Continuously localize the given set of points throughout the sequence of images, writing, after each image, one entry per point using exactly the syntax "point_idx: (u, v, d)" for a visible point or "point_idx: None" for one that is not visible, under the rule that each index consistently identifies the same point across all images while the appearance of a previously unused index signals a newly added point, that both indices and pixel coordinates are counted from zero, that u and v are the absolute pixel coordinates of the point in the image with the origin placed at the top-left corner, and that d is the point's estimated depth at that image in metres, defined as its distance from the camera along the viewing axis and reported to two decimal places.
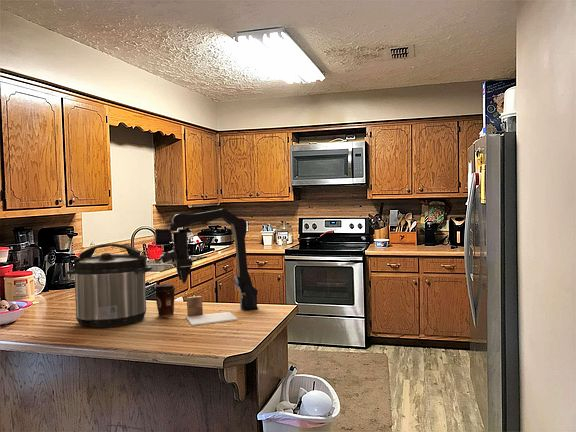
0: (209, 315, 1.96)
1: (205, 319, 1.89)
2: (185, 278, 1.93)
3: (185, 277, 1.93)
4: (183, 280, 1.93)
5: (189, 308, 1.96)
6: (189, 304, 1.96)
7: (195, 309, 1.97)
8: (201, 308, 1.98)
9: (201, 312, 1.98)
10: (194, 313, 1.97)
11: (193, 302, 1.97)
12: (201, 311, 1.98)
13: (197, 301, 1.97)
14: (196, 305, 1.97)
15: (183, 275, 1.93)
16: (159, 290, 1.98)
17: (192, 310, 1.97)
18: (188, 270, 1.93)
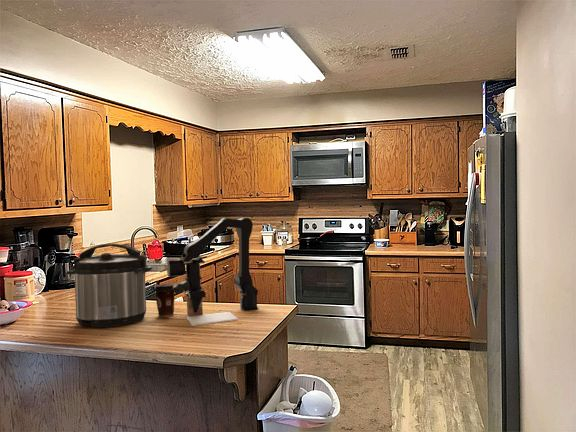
0: (209, 315, 1.96)
1: (205, 319, 1.89)
2: (196, 308, 1.97)
3: (196, 307, 1.97)
4: (195, 310, 1.96)
5: (189, 308, 1.96)
6: (189, 304, 1.96)
7: None
8: (201, 308, 1.98)
9: (201, 312, 1.98)
10: (194, 313, 1.97)
11: None
12: (201, 311, 1.98)
13: None
14: None
15: (195, 305, 1.96)
16: (159, 290, 1.98)
17: (192, 310, 1.97)
18: (199, 300, 1.96)
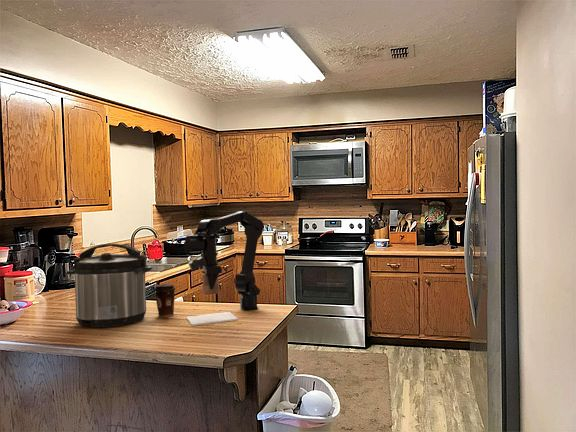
0: (209, 315, 1.96)
1: (205, 319, 1.89)
2: (213, 284, 1.92)
3: (212, 283, 1.92)
4: (211, 286, 1.92)
5: (205, 285, 1.92)
6: (205, 281, 1.92)
7: None
8: (217, 285, 1.94)
9: (217, 289, 1.94)
10: (210, 290, 1.93)
11: None
12: (217, 288, 1.94)
13: None
14: None
15: (211, 282, 1.92)
16: (159, 290, 1.98)
17: (208, 287, 1.92)
18: (216, 276, 1.91)
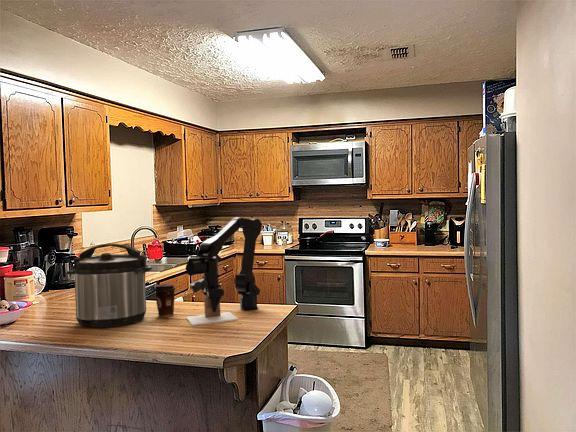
0: None
1: (205, 319, 1.89)
2: (215, 307, 1.91)
3: (215, 306, 1.91)
4: (213, 309, 1.91)
5: (207, 308, 1.92)
6: (207, 304, 1.92)
7: None
8: (219, 308, 1.94)
9: (219, 312, 1.94)
10: (212, 313, 1.93)
11: None
12: (219, 311, 1.94)
13: None
14: None
15: (213, 304, 1.90)
16: (159, 290, 1.98)
17: (210, 310, 1.92)
18: (218, 299, 1.90)
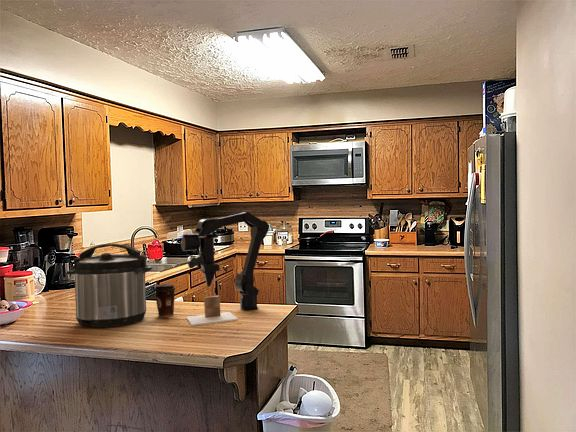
0: None
1: (205, 319, 1.89)
2: (210, 282, 1.98)
3: (209, 281, 1.98)
4: (208, 284, 1.98)
5: (207, 308, 1.92)
6: (207, 304, 1.92)
7: (213, 309, 1.93)
8: (219, 308, 1.94)
9: (219, 312, 1.94)
10: (212, 313, 1.93)
11: (211, 302, 1.92)
12: (219, 311, 1.94)
13: (215, 301, 1.93)
14: (214, 305, 1.93)
15: (208, 279, 1.98)
16: (159, 290, 1.98)
17: (210, 310, 1.92)
18: (213, 274, 1.98)
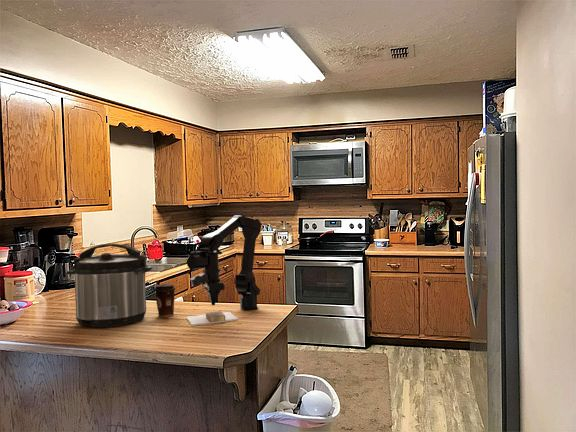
0: None
1: (205, 319, 1.89)
2: (214, 300, 1.91)
3: (214, 299, 1.91)
4: (212, 302, 1.91)
5: None
6: None
7: None
8: None
9: None
10: None
11: None
12: None
13: None
14: None
15: (212, 298, 1.91)
16: (159, 290, 1.98)
17: None
18: (217, 292, 1.91)
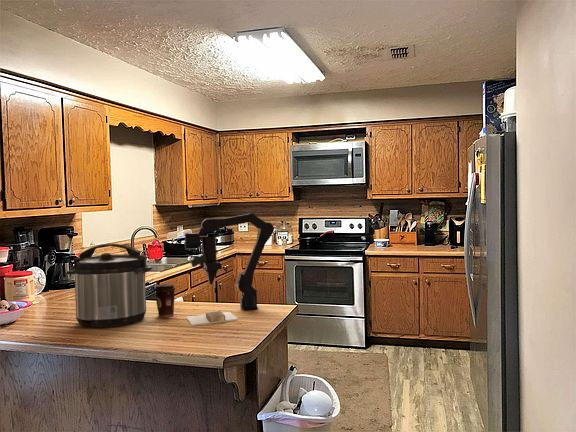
0: None
1: (205, 319, 1.89)
2: (212, 280, 2.04)
3: (212, 279, 2.04)
4: (210, 281, 2.04)
5: None
6: None
7: None
8: None
9: None
10: None
11: None
12: None
13: None
14: None
15: (210, 277, 2.03)
16: (159, 290, 1.98)
17: None
18: (215, 272, 2.03)
